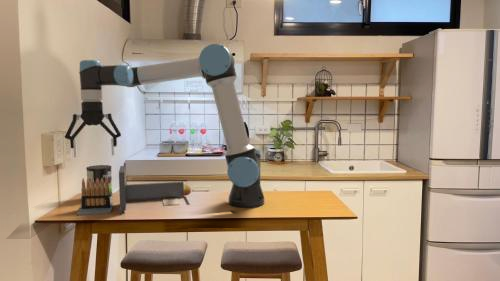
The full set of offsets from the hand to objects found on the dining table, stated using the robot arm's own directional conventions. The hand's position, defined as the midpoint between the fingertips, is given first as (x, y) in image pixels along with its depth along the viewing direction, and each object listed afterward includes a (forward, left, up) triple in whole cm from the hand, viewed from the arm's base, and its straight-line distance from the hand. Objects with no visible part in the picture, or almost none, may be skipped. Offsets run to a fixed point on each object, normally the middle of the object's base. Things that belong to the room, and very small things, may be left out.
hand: (94, 155), depth 152 cm
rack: (-23, +2, -21) cm, 31 cm away
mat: (0, 0, -21) cm, 21 cm away
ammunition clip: (0, 0, -21) cm, 21 cm away
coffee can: (0, -19, -22) cm, 29 cm away
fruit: (-34, -13, -22) cm, 42 cm away
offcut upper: (-29, +2, -21) cm, 36 cm away
